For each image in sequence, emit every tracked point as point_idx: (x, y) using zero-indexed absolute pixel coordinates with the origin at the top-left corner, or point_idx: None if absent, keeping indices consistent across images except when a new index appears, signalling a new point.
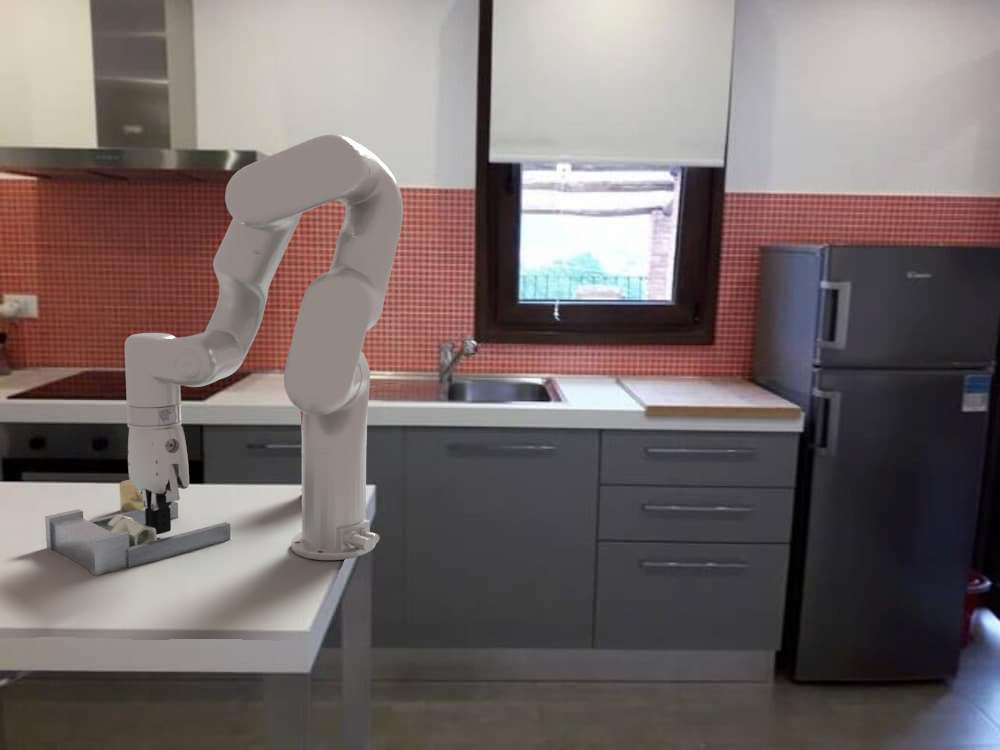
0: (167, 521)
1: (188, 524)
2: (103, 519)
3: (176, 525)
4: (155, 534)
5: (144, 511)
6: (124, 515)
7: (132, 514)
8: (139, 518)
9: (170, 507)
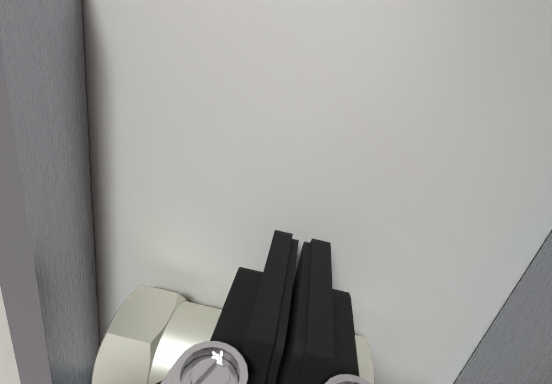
0: (352, 318)
1: (241, 19)
2: (44, 367)
3: (201, 76)
4: (371, 372)
5: (31, 198)
6: (41, 296)
7: (40, 259)
8: (61, 210)
9: (16, 3)
